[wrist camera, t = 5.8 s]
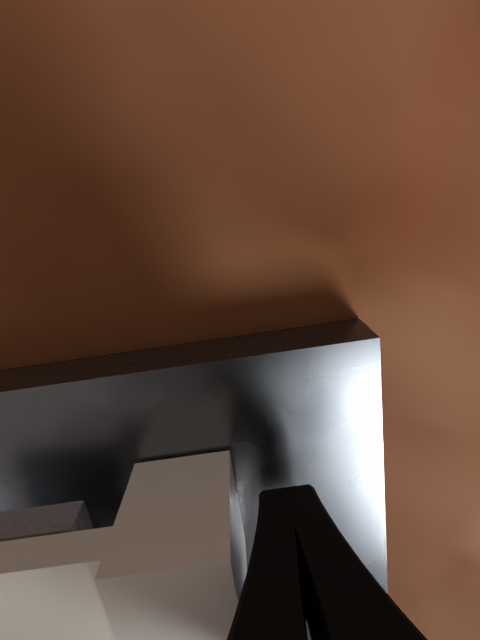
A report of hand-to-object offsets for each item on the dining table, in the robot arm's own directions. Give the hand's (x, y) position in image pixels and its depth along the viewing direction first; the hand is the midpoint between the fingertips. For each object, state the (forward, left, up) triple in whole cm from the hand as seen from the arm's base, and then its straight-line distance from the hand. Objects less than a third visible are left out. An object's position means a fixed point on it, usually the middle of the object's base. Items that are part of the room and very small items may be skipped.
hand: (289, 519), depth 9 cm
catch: (0, +4, -1) cm, 4 cm away
